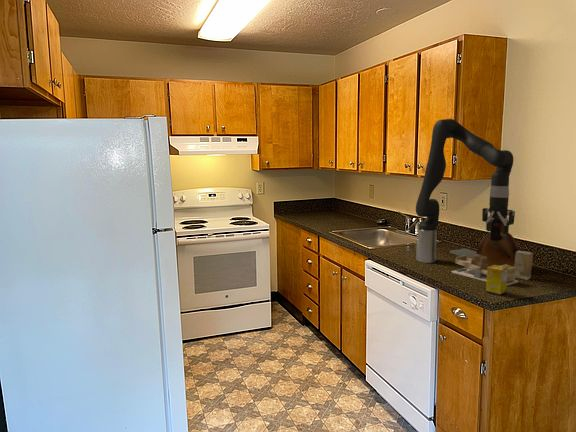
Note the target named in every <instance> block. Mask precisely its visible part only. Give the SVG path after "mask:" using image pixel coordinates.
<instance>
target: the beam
mask: <svg viewBox="0 0 576 432" xmlns="http://www.w3.org/2000/svg"><path fill="white" fill-rule="evenodd" d="M471 261H472V259H470V258H467V257H466V255H463V256H456V257H455V258H454V263H455V264H457V265H460V266H461V267H462V266H463V268H467V269H471V270H480V271H481V273H483V274H486V275H487V267H490V266H489V265H487V264H486V267H485V268H481V267H479V266H476V265H473V264H471ZM501 266H503V267H508V271H507V282H509V281H512V280H516V278H515V277H514V273H515V268H516V267H513V266H510V265H507V264H505V265H501Z"/></svg>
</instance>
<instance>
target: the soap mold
mask: <svg viewBox="0 0 576 432" xmlns="http://www.w3.org/2000/svg"><path fill="white" fill-rule="evenodd" d="M476 252H477V250H476V251H475V250H471V249H469V248H461V249H451V250H449V253H450V254H453V255H456V256H457V257H459V256H463V255H466V257H467V258H470V259H472V255H475V254H476Z"/></svg>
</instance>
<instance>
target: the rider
mask: <svg viewBox="0 0 576 432" xmlns="http://www.w3.org/2000/svg"><path fill="white" fill-rule="evenodd" d="M486 262H487V257H485V256H482V255H479V254H475V255H472V261H471V264H473V265H476V266H479V267H481V268H485V267H486Z"/></svg>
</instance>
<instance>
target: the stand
mask: <svg viewBox="0 0 576 432" xmlns="http://www.w3.org/2000/svg"><path fill="white" fill-rule="evenodd" d="M451 272H452V273H453V274H455V275H460V276H463V277H468V278H470V279H471V278H472V279H476V280H479V281H483V282H486V283H487V275H486V274H483V273H481V271H480V270H472V269H470V268H467V267H463V268H459V269H455V270H452V271H451ZM451 272H450V273H451ZM517 283H519V280H516V279H515V280H512V281H509V282H507V286H510V285H514V284H517Z"/></svg>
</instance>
